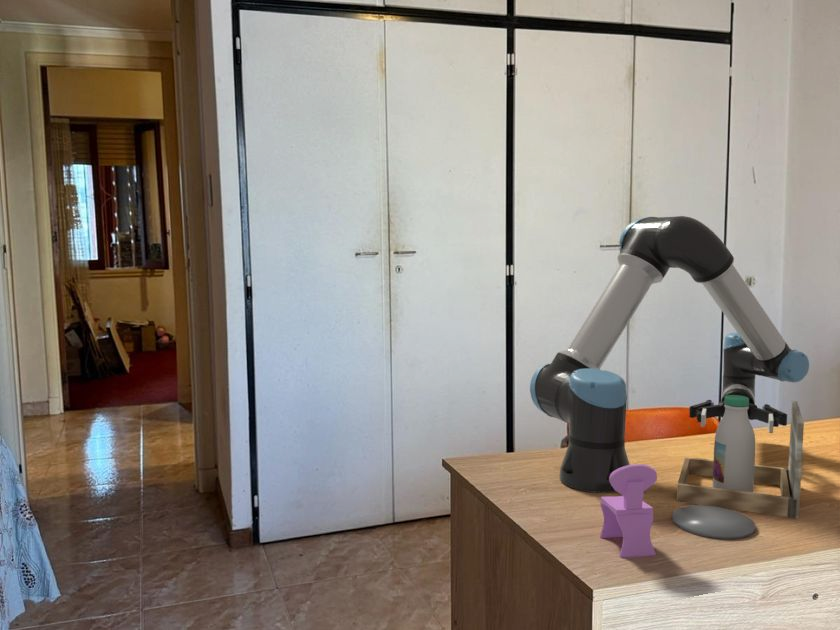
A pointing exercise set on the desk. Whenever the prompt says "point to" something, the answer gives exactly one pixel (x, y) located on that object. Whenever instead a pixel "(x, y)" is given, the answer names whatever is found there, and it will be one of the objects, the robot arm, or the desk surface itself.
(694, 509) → the pad
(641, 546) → the toy chair
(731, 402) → the milk bottle
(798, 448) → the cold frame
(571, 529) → the desk surface
